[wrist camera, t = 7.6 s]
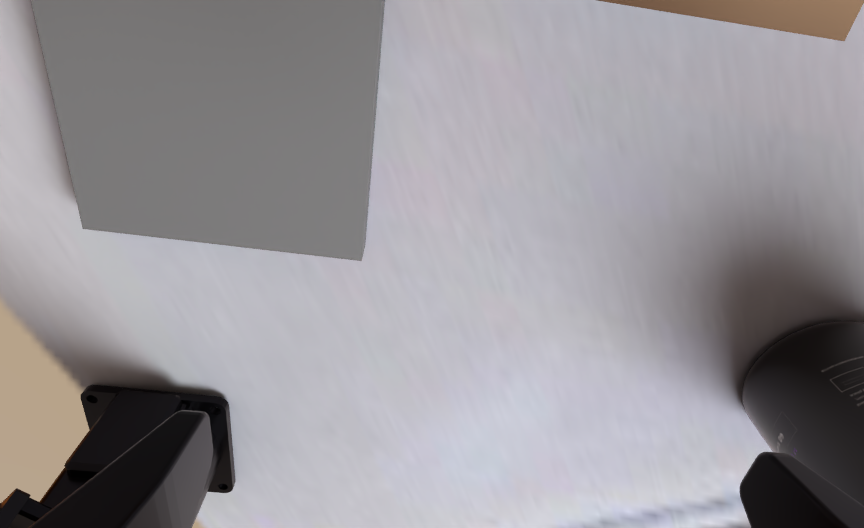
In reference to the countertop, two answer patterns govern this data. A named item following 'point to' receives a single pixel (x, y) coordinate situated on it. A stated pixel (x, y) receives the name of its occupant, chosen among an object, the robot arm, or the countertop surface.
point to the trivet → (219, 117)
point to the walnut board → (768, 13)
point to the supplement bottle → (814, 401)
